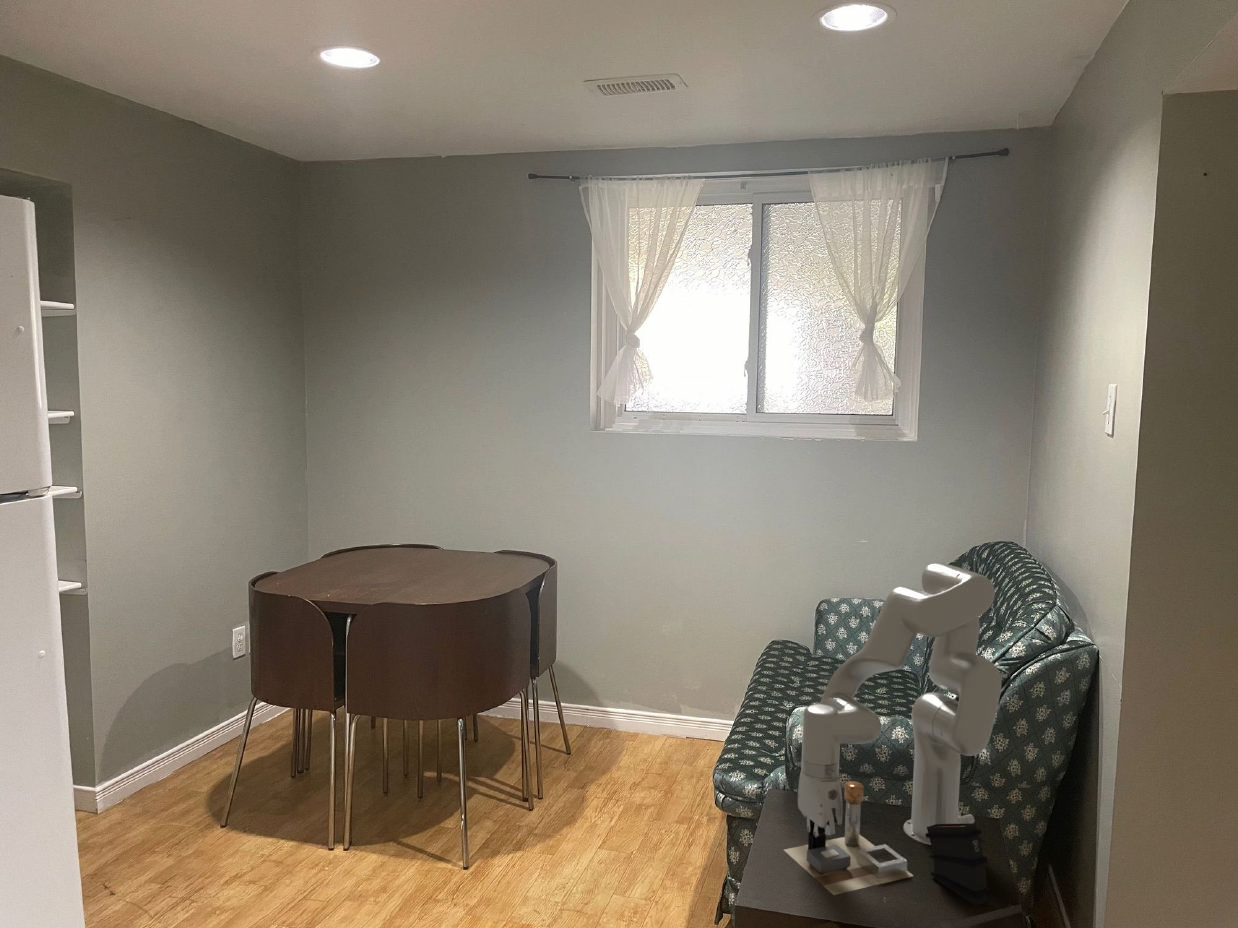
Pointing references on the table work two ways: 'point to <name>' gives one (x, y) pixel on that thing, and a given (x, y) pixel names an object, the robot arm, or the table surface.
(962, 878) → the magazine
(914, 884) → the table surface
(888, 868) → the socket
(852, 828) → the awl
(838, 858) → the block
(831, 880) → the board
